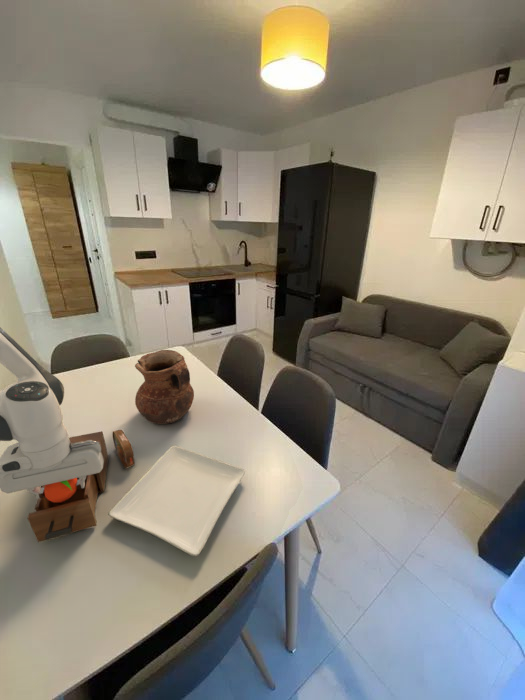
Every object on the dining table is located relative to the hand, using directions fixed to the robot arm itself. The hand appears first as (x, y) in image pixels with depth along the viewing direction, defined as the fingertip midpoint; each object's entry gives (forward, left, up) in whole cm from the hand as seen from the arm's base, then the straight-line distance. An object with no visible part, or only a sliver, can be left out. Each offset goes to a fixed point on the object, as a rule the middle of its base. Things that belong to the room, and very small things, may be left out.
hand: (62, 491), depth 72 cm
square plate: (+28, -3, -10) cm, 30 cm away
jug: (+27, +39, -10) cm, 48 cm away
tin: (+12, +19, -10) cm, 25 cm away
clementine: (0, 0, -3) cm, 3 cm away
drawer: (0, 0, -9) cm, 9 cm away
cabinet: (0, +13, -10) cm, 17 cm away
